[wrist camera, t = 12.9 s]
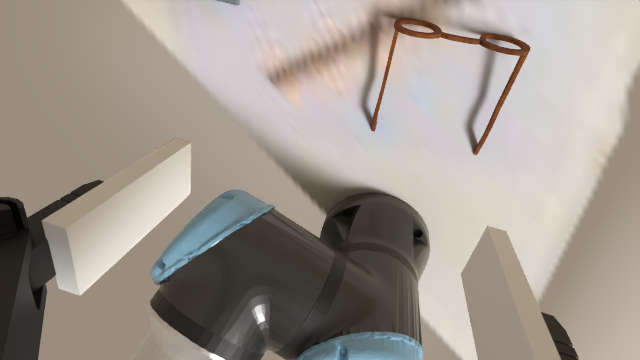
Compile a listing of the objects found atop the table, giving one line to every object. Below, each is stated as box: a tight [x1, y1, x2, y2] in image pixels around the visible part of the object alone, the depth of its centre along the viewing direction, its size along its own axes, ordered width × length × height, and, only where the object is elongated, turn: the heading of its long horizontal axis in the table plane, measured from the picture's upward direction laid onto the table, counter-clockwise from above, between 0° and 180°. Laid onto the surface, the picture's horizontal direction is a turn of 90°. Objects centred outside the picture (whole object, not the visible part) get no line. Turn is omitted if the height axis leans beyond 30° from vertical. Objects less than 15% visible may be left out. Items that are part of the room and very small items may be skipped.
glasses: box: [372, 19, 530, 155], centre depth 38 cm, size 13×13×5 cm
